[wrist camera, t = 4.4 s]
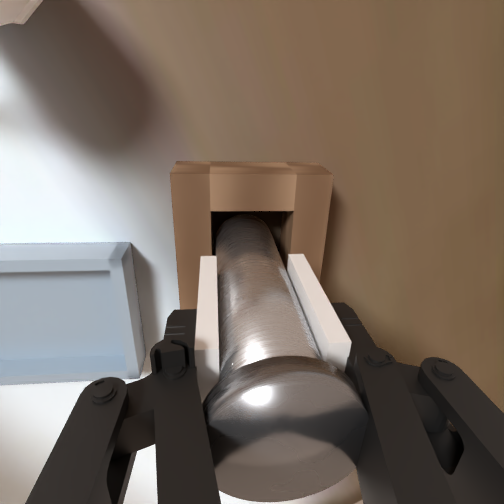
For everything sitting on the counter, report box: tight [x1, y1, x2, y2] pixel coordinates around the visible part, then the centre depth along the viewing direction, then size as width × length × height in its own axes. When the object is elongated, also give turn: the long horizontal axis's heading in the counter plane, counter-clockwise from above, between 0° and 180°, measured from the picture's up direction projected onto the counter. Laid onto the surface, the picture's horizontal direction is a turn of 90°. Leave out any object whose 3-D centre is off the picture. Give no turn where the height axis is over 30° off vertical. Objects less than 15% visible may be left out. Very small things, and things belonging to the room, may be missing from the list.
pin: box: [202, 214, 369, 502], centre depth 15 cm, size 5×5×14 cm
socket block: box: [170, 161, 334, 310], centre depth 22 cm, size 9×9×4 cm
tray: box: [0, 242, 146, 385], centre depth 24 cm, size 14×10×2 cm
